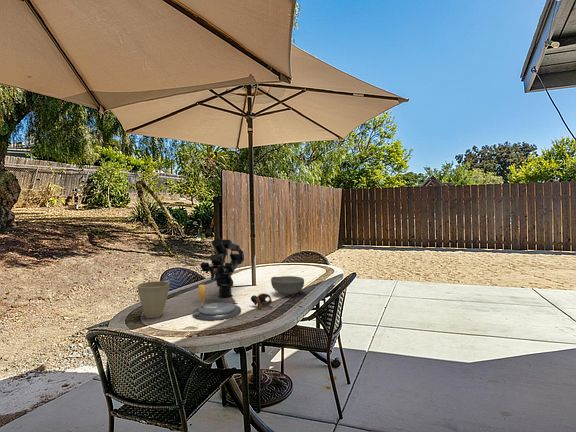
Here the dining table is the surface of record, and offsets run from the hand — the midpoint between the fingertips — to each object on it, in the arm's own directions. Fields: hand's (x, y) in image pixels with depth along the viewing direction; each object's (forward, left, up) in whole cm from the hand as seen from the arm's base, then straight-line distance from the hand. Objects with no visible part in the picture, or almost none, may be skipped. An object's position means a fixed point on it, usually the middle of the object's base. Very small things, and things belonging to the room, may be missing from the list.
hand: (213, 279), depth 193 cm
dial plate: (+7, +15, -14) cm, 21 cm away
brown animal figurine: (-15, +23, -14) cm, 31 cm away
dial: (+7, +15, -12) cm, 21 cm away
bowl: (-43, +14, -14) cm, 48 cm away
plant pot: (+32, -4, -14) cm, 35 cm away
